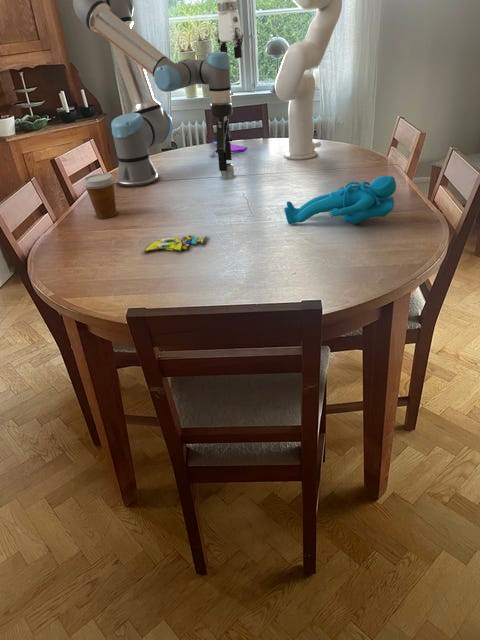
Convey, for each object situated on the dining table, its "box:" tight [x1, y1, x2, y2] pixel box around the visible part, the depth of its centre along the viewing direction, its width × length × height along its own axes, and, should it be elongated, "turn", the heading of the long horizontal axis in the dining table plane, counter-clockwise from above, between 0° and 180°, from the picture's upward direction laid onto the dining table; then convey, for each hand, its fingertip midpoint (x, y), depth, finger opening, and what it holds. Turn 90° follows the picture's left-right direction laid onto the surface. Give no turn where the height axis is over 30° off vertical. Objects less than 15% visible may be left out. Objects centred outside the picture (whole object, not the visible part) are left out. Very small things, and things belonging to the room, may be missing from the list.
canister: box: [220, 162, 235, 180], centre depth 179 cm, size 5×5×4 cm
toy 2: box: [283, 175, 397, 225], centre depth 132 cm, size 17×11×30 cm
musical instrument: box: [210, 141, 248, 157], centre depth 213 cm, size 24×2×20 cm
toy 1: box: [144, 234, 207, 254], centre depth 130 cm, size 10×1×15 cm
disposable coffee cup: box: [83, 172, 117, 219], centre depth 152 cm, size 10×10×12 cm
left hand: (225, 165), depth 178 cm, fingers open, 13 cm apart
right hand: (231, 57), depth 197 cm, fingers open, 9 cm apart
